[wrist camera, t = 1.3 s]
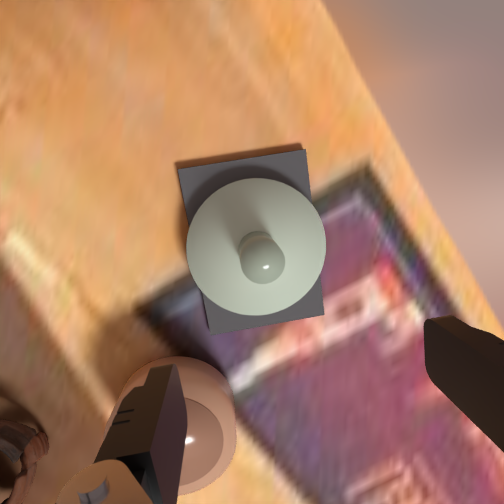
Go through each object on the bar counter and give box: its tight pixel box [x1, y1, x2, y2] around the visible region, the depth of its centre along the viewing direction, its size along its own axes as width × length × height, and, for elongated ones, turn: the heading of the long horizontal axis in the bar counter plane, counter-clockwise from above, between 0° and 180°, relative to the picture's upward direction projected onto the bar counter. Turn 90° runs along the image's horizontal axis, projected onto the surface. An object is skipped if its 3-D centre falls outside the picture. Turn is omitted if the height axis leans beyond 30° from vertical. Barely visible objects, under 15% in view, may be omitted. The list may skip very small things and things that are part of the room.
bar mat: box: [178, 149, 324, 335], centre depth 28 cm, size 14×10×1 cm
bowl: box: [103, 356, 236, 496], centre depth 29 cm, size 10×10×5 cm
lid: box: [186, 178, 326, 315], centre depth 26 cm, size 11×11×5 cm
